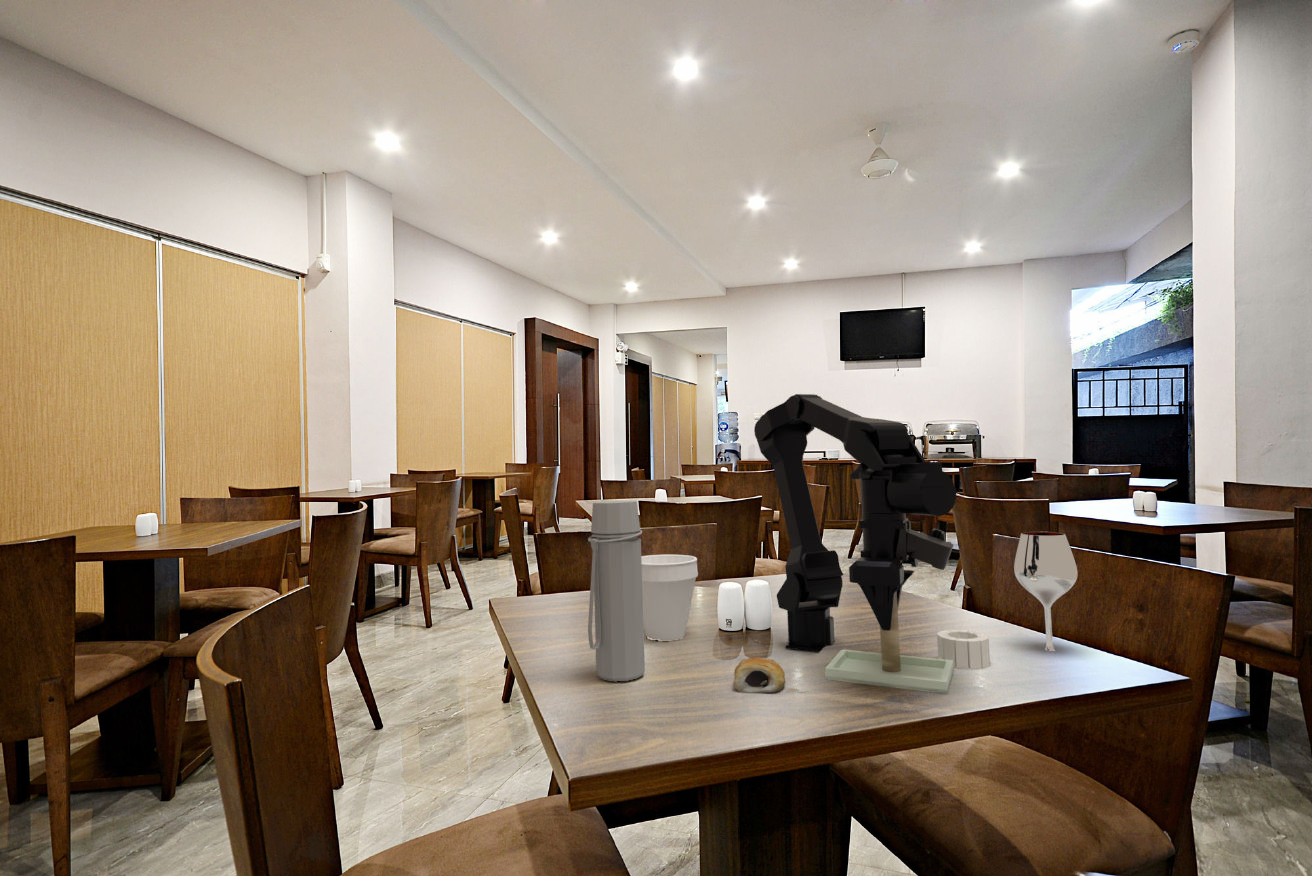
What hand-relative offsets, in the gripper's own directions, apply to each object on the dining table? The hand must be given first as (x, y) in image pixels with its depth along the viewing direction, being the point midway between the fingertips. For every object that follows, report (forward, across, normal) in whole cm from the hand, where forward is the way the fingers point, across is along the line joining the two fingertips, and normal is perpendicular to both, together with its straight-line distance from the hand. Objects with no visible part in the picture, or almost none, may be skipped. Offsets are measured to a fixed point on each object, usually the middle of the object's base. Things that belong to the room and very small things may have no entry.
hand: (888, 626), depth 90 cm
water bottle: (+7, -14, +36) cm, 39 cm away
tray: (+7, -1, 0) cm, 7 cm away
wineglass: (+7, +20, -20) cm, 29 cm away
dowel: (+6, 0, 0) cm, 6 cm away
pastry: (+8, -9, +16) cm, 20 cm away
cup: (+7, +9, +40) cm, 41 cm away
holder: (+7, +9, -8) cm, 14 cm away
